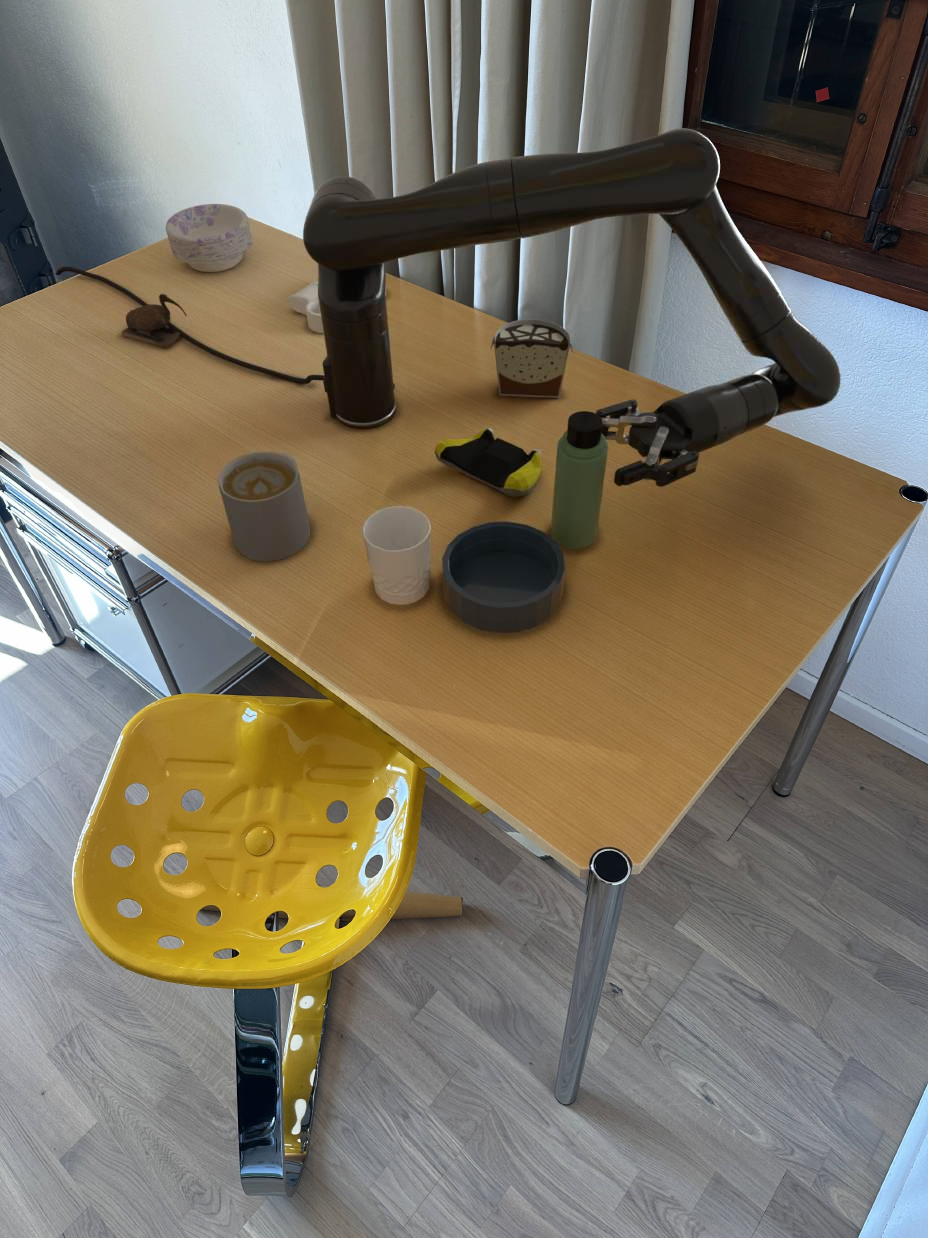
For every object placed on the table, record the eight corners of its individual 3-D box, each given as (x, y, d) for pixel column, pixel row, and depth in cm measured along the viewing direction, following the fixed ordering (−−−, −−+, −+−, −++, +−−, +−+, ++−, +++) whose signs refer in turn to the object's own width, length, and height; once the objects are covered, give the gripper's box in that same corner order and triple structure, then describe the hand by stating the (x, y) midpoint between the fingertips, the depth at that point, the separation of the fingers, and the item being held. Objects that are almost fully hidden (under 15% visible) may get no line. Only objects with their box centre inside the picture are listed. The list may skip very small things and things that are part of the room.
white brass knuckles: (342, 276, 163) (404, 297, 157) (276, 317, 153) (340, 341, 148) (340, 258, 161) (403, 279, 155) (273, 299, 151) (338, 323, 145)
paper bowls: (220, 287, 161) (209, 244, 155) (159, 268, 166) (147, 227, 160) (272, 253, 170) (264, 212, 164) (212, 237, 175) (203, 196, 169)
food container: (569, 376, 139) (574, 318, 132) (569, 398, 135) (574, 339, 128) (492, 373, 140) (493, 315, 133) (489, 394, 136) (490, 336, 129)
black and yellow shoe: (515, 519, 117) (557, 481, 122) (516, 486, 112) (560, 448, 118) (429, 476, 123) (472, 441, 128) (427, 444, 119) (472, 410, 124)
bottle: (546, 547, 113) (554, 432, 99) (555, 517, 117) (564, 402, 103) (592, 555, 112) (607, 439, 98) (599, 524, 116) (615, 409, 102)
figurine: (203, 341, 148) (191, 293, 142) (187, 354, 146) (173, 305, 139) (139, 324, 153) (124, 276, 146) (122, 336, 150) (105, 288, 143)
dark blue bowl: (429, 622, 104) (427, 593, 101) (461, 542, 114) (460, 513, 110) (548, 646, 102) (551, 617, 98) (571, 561, 111) (575, 532, 107)
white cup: (370, 567, 111) (362, 507, 103) (432, 563, 111) (428, 503, 104) (371, 613, 105) (362, 553, 98) (436, 608, 106) (432, 548, 98)
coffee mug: (281, 571, 111) (266, 510, 103) (219, 546, 114) (200, 486, 106) (339, 509, 118) (329, 449, 111) (279, 488, 122) (266, 428, 114)
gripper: (671, 367, 113) (565, 404, 108) (745, 423, 104) (634, 466, 99) (662, 416, 118) (562, 453, 113) (732, 473, 110) (626, 516, 105)
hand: (595, 459), depth 106 cm, fingers open, 8 cm apart
